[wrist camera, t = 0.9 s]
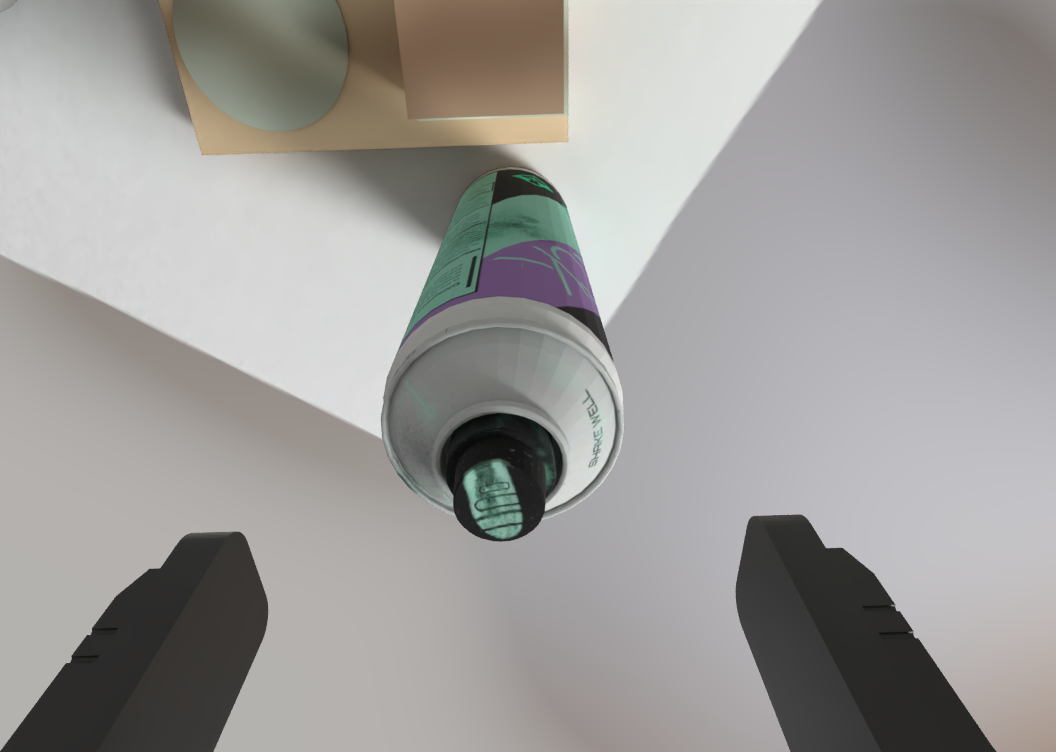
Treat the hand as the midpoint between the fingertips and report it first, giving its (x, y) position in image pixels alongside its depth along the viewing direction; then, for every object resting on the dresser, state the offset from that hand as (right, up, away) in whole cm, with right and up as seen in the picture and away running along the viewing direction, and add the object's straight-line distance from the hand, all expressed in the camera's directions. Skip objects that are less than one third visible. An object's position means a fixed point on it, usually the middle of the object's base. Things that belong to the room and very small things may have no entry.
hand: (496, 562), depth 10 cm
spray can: (0, +10, +19) cm, 22 cm away
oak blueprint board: (-5, +17, +15) cm, 23 cm away
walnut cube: (-1, +16, +13) cm, 20 cm away
